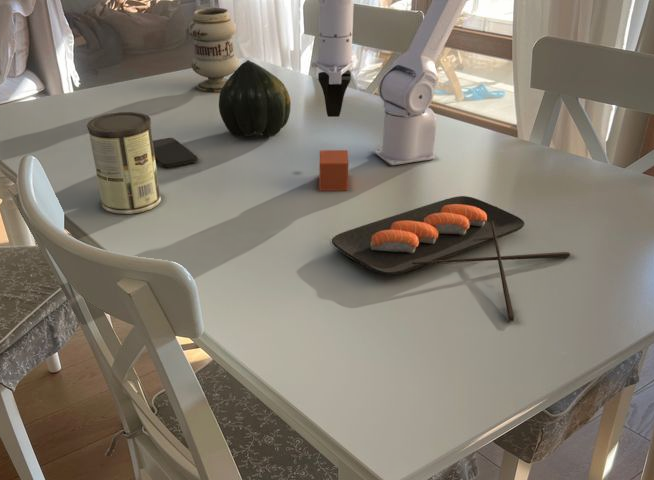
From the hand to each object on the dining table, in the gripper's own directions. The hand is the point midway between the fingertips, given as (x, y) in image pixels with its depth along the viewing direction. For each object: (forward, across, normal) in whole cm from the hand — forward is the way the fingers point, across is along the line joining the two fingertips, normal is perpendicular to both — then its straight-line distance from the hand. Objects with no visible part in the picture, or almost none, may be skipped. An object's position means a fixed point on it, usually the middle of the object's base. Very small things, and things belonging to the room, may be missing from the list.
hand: (333, 115), depth 127 cm
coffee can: (+11, +14, -35) cm, 39 cm away
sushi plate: (+10, +36, +19) cm, 42 cm away
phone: (+10, -9, -33) cm, 36 cm away
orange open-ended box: (+10, +6, 0) cm, 12 cm away
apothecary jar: (+10, -59, -29) cm, 67 cm away
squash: (+11, -22, -16) cm, 30 cm away
